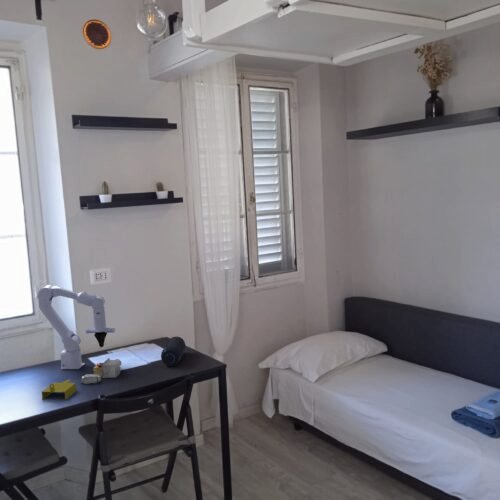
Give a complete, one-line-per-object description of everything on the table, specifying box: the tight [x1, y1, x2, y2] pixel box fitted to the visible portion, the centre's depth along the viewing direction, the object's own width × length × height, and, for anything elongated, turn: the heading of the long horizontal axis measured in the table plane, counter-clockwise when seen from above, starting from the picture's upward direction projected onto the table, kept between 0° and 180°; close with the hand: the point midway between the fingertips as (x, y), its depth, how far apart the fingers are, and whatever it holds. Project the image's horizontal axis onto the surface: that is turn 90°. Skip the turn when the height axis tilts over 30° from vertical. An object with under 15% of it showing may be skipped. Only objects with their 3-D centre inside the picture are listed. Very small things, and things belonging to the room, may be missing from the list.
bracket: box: [41, 379, 77, 401], centre depth 232 cm, size 16×8×15 cm
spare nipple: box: [80, 373, 102, 385], centre depth 244 cm, size 8×3×3 cm, turn 91°
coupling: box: [101, 358, 122, 379], centre depth 255 cm, size 6×14×7 cm, turn 175°
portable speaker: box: [160, 336, 186, 367], centre depth 271 cm, size 25×10×10 cm, turn 0°
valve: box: [92, 362, 103, 378], centre depth 253 cm, size 9×5×6 cm, turn 84°
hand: (101, 346), depth 268 cm, fingers closed
